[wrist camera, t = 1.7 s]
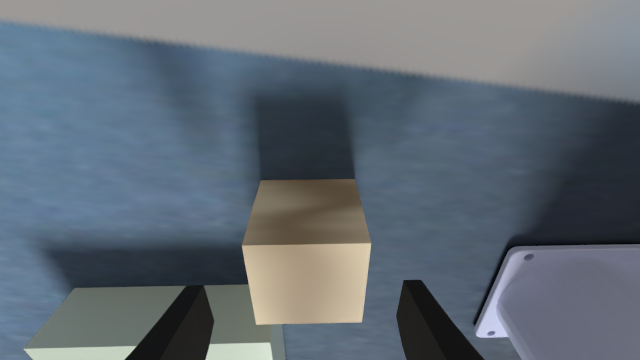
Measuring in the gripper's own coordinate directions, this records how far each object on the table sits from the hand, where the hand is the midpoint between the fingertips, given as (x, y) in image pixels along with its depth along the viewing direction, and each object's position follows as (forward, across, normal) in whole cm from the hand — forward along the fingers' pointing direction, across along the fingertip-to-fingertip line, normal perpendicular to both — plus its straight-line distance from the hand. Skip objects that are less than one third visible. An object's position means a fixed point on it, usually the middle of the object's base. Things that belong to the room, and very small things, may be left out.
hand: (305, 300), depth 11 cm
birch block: (+5, 0, 0) cm, 5 cm away
